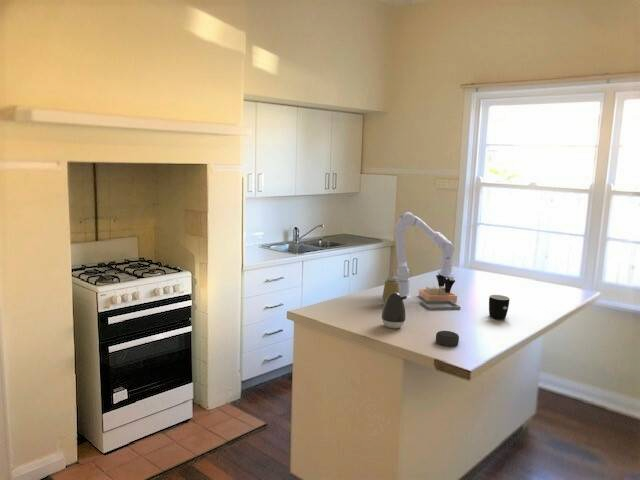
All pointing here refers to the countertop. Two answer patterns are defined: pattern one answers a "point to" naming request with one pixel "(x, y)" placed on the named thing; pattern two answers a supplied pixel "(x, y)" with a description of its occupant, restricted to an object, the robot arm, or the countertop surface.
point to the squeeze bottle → (390, 286)
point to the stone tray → (440, 305)
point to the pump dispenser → (394, 311)
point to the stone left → (431, 290)
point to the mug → (498, 306)
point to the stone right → (442, 291)
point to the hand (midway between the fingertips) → (444, 290)
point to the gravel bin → (437, 296)
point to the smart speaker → (447, 338)
